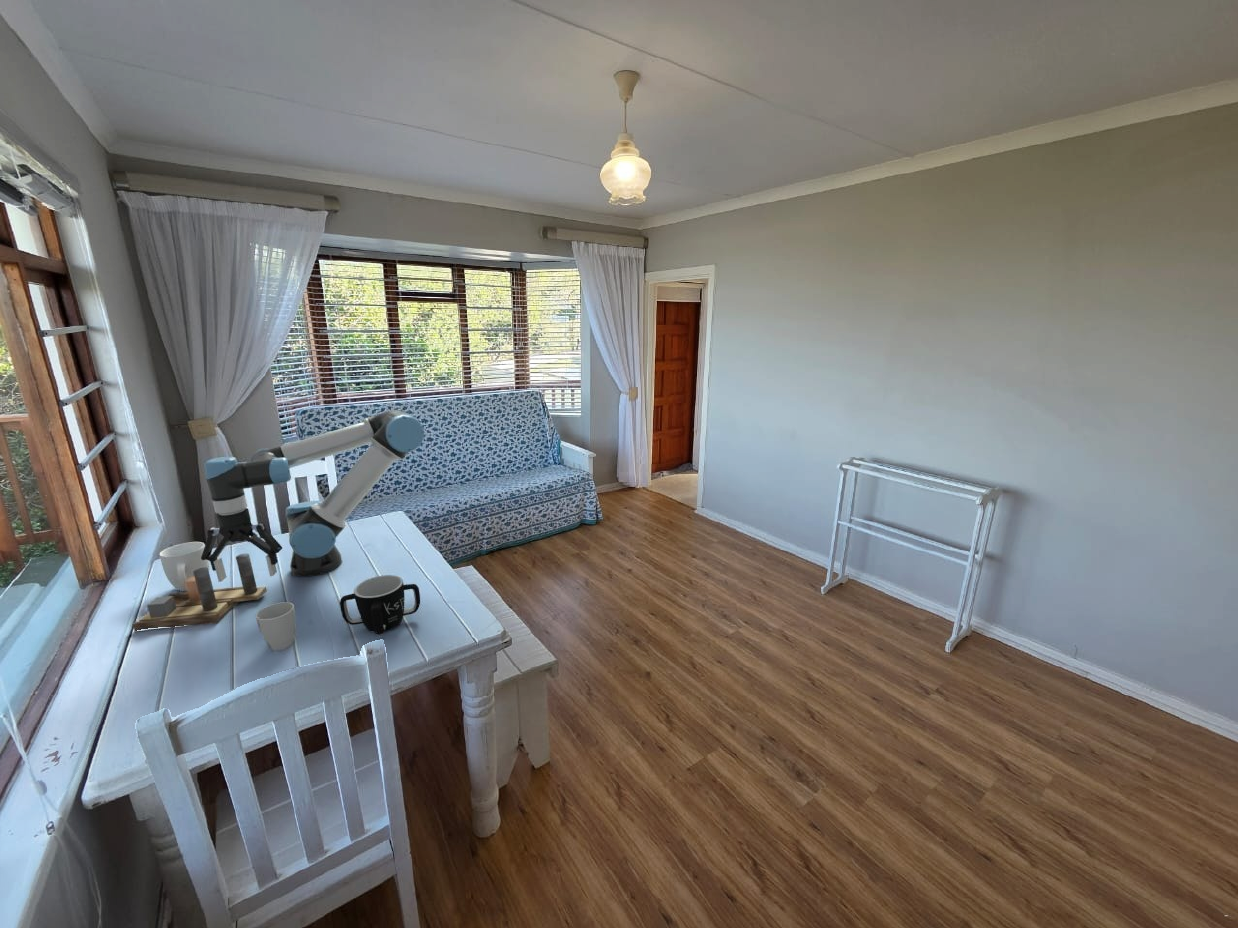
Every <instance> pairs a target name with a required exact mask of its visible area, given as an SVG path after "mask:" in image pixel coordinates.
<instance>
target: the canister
mask: <svg viewBox="0 0 1238 928" xmlns="http://www.w3.org/2000/svg"><path fill="white" fill-rule="evenodd" d="M184 582H185V586H186V589H187V591H186V592H187V593H188V597H189V600H190V601H192V602H195V601H200V600H201V599H200V596H199V592H198V588H197V584H196V581H195V577H194V576H193V577H190V578H188V579H186V580H185V581H184Z"/></svg>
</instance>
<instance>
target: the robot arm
mask: <svg viewBox="0 0 1238 928" xmlns="http://www.w3.org/2000/svg"><path fill="white" fill-rule="evenodd" d="M424 437H425V431H424V427H423V425H422V424H421V422H420V421H419V420H418V419H417V418H416V417H415V416H413V415H411V414H410V413H408V412H406V411H404V410H401V409H392V410H391V409H390V410H388V411H384V412H381V413H378V414H376V415H372V416H369V417H365V418H364V419H363V421H362V422H360V423H356V424H352V425H349V426H345V427H341V428H339V429H336V430H332V431H327V432H325V433H324V432H323V433H322V434H317V435H315V436H312V437H308V438H304V439H301V440H298V441H294V442H290V443H288V444H283V445H280V446H276V447H273V448H261V449H259V450H257V451H256V452H255V453H254V454H253V455H252V457H251V459H250V460H251V461H247V462H246V461H245V462H239V461H238V459H237V458H236V457H234V456H222V457H214V458H211V459H208V460H207V461H206V462H205V463H204V464H203V467H204V473H205V480H206V483H207V487H208V491H209V493H210V497H211V501H212V505H213V506H212V507H213V510H214V513H216V515H215V516H216V521H217V525H218V526H219V527H216V526H212V527H211V528H209V529H208V530H207V532H206V533H207V534H206V535H207V538H206V542H205V543H204V544H205V547H204V550H203V553H202V556H201V559H202V560H209V563H210V565H211V570H212V571H214V572H215V573H216V577H217V580H218V583H219V582H220V583H221V582H223V581H224V580H226V578H227V572H226V569H225V566H224V563H223V558H222V557H221V556H220V554H221V553H223V550H224V549H225V548H226V547H227V545H228V543H229V542H231V543H236V542H248V543H251V544H252V545H253V546H255V547H257V548H258V549H259V550H260V551H262V552H263V553H265V554H266V556H265V559H266V564H267V568H268V574H269V576H270V577H274V576H275V575H276V574H277V573H278V570H277V566H276V565H277V564H278V557H277V554H278V553H280V551H282V550H283V546H282V545H281V544H280V543H279V542H278V540H276V538H275V537H274V536H273V534H272V533H270V531H269V530H268V529H267V527H266V524H265V523H264V522H260V523H259V524H253V523H252V520H251V519H252V518H251V515H250V511H249V508H247V507H248V502H247V498H246V495H245V490H246V489H251V488H257V487H264V486H273V485H280V484H282V483H288V482H290V481H291V480H292V477H291V471H290V469H293V468H295V467H299V466H302V465H306V464H308V463H311V462H314V461H318V460H320V459H321V460H322V459H324V458H328V457H331V456H335V455H337V454H341V453H345V452H346V451H350V450H353V449H356V448H360V447H363V446H367V445H370V444H371V445H370V446H369V447H368V449H367V450H366V451H365V453H363V455H361V457H360V458H359V459H358V460H357V461H356V462H355V463H354V465H353V466H352V467H351V468H350V469H349V471H347V472H346V474H345V475H344V476H343V477H342V478H341V480H340V481H339V482H338V483H337V484H336V485H335V486H334V488H333V489H332V490H331V491H330V492H329V493H328V494H327V496H325V498H324V499H323V500H311V501H310V500H309V501H304V502H298V503H295V504H291V505H289V506H287V507H286V508H285V516H284V517H286V521H287V526H288V537H289V545H290V547H291V548H292V555H291V559H290V571H291V574H292V575H293V576H295V577H303V578H304V577H314V576H318V575H319V576H320V575H323V574H326V573H328V572H331V571H332V570H333V571H334V569H336V568H338V567H339V566H340V565H341V564H342V562H343V560H342V559H343V558H342V554H341V553H340V551H339V549H338V547H337V546H336V540H337V539H336V538H337V537H338V536H339V534H341V532H342V531H343V530H344V529H345V527H346V519H347V517H348V516H349V515H350V514H351V512H353V511H354V509H355V508H356V507H357V506H358V505H359V504H360V503H361V501H362V500H363V499H364V498H365V496H367V494H368V493H369V492H370V491H371V489H372V488H373V487H374V486H375V485H376V483H378V481H379V480H380V479H381V478H382V477H383V475H384V474H385V473H386V472H387V471H388V469H389V468H390V467H391V466H392V465H393V464H394V462H396V461H402V460H403V459H404V458H405V457H406V456H407V455H408V453H410V452H412V451H415V450H416V449H418V448H419V447H420V446H421V445H422V443H423V440H424ZM244 489H245V490H244ZM254 531H255V532H254ZM256 533H257V534H256ZM219 534H220V535H221V536H223V538H222V539H221V541H220V542H219V544H218V545H217V547H216V548H215V549H214V546H215V542H216V539H217V537H218V535H219ZM258 535H259V536H258ZM213 549H214V551H213Z"/></svg>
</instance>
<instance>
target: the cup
mask: <svg viewBox="0 0 1238 928" xmlns="http://www.w3.org/2000/svg"><path fill="white" fill-rule="evenodd" d="M295 612H296V611H295V605H294V603H292V602H288V601H286V602H285V601H282V602H276V603H273V604H270V605H267V606H265V607H263V608H261V609H260V610H258V611H257V613H256V614H255V619H256V622H257V625H258V628H259V631H260V633H261V635H262V637H263V640H264V641H265V643H266V644H267V645H268V647H269V649H271V650H272V651H274V652H275V651H277V652H278V651H282V650H286V649H287V648H289V647H291V646H292V645H293V644H294V643H295V642H294V641H295V636H296V625H297V624H296V613H295Z"/></svg>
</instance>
